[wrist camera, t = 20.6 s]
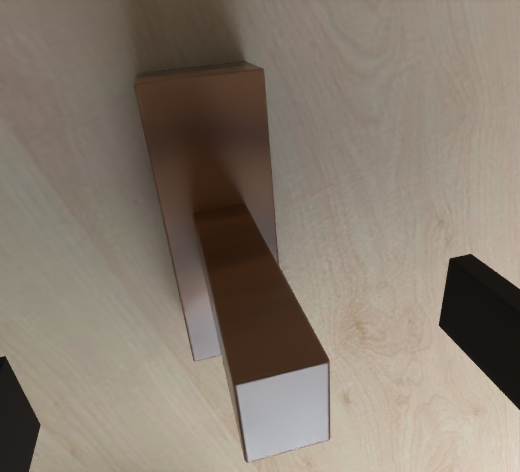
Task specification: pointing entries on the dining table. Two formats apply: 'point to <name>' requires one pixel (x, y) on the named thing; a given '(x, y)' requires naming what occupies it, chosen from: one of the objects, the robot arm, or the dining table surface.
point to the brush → (233, 251)
